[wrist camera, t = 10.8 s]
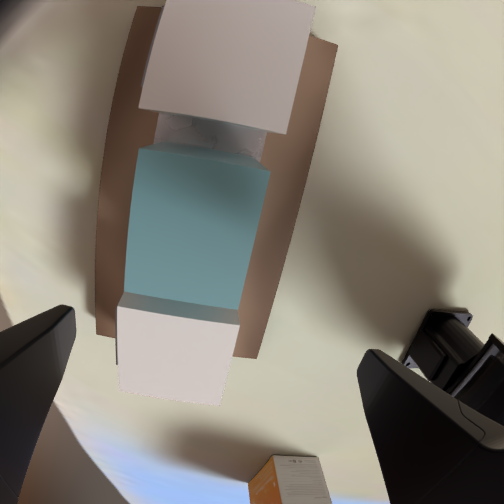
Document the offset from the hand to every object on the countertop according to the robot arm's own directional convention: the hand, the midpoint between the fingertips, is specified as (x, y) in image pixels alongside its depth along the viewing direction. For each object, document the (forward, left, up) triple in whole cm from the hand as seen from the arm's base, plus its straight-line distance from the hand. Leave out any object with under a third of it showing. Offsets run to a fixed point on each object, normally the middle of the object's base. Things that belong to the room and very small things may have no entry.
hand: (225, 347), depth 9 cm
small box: (-12, +29, -13) cm, 35 cm away
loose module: (+2, -2, -11) cm, 11 cm away
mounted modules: (+2, -2, -11) cm, 11 cm away
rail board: (+2, -2, -13) cm, 13 cm away
